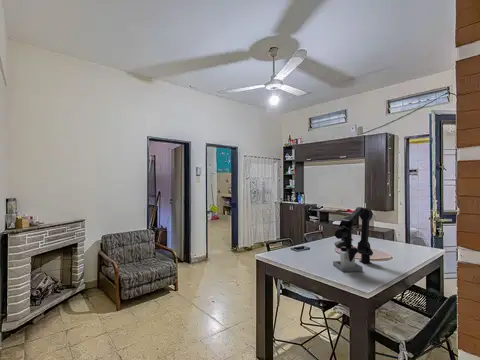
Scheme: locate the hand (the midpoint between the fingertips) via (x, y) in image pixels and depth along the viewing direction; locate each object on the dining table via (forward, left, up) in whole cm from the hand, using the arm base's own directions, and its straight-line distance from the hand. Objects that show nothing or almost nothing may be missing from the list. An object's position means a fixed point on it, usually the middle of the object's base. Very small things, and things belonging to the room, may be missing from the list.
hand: (347, 259), depth 180 cm
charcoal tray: (0, 0, -6) cm, 6 cm away
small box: (0, 0, -6) cm, 6 cm away
